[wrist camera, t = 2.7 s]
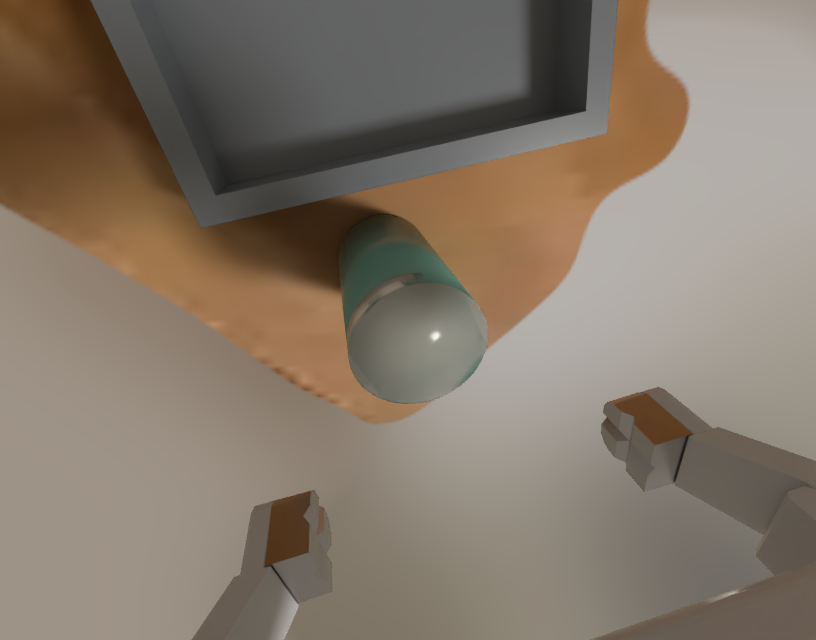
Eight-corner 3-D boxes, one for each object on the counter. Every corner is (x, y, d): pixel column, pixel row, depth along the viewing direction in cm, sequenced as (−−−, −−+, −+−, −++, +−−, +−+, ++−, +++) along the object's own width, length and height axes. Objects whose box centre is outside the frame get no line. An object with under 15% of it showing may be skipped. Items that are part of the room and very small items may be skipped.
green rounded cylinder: (326, 227, 22) (329, 305, 13) (419, 204, 22) (482, 266, 14) (351, 310, 24) (367, 418, 16) (433, 288, 25) (492, 383, 16)
